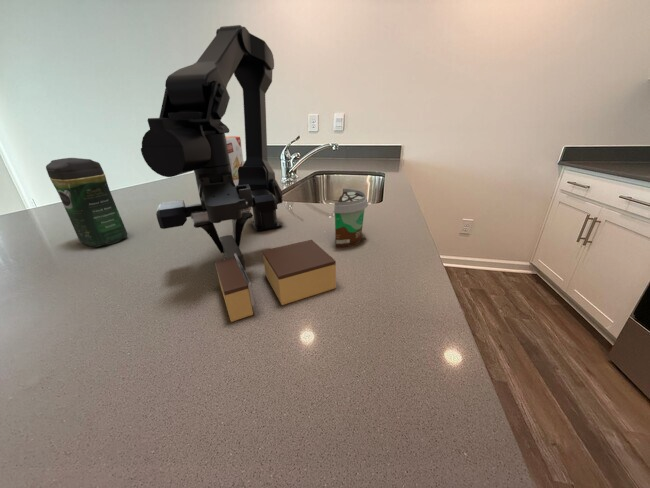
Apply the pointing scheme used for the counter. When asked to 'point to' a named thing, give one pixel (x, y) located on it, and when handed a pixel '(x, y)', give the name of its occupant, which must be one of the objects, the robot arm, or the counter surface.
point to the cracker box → (235, 156)
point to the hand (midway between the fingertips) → (229, 250)
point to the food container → (349, 217)
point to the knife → (233, 251)
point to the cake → (299, 270)
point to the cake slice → (234, 289)
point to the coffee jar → (87, 200)
